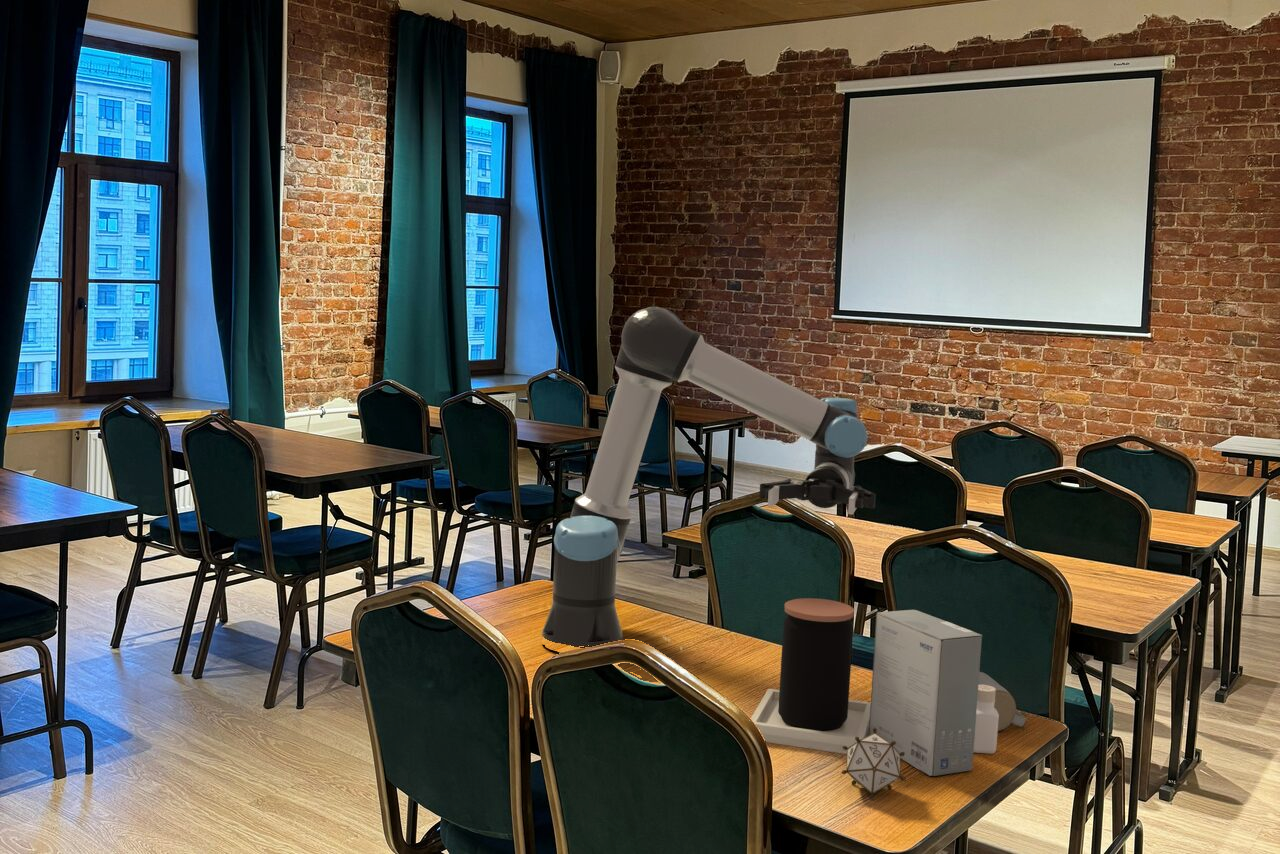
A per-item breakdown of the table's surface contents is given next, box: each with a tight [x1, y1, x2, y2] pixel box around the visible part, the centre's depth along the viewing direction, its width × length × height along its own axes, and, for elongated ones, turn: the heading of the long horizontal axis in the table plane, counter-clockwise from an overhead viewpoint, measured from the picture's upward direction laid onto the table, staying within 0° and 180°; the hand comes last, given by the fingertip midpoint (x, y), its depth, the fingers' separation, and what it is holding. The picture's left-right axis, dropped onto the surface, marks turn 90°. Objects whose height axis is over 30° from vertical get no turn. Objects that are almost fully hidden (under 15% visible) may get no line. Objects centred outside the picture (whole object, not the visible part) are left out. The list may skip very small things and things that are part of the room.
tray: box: [750, 688, 871, 755], centre depth 180 cm, size 17×17×2 cm
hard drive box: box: [868, 609, 983, 777], centre depth 170 cm, size 16×8×20 cm, turn 25°
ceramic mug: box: [978, 671, 1027, 732], centre depth 185 cm, size 11×8×8 cm
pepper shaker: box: [973, 685, 999, 755], centre depth 174 cm, size 4×4×10 cm
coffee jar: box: [778, 597, 855, 731], centre depth 179 cm, size 11×11×18 cm
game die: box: [840, 727, 907, 801], centre depth 157 cm, size 9×8×10 cm
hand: (810, 502), depth 196 cm, fingers open, 13 cm apart
